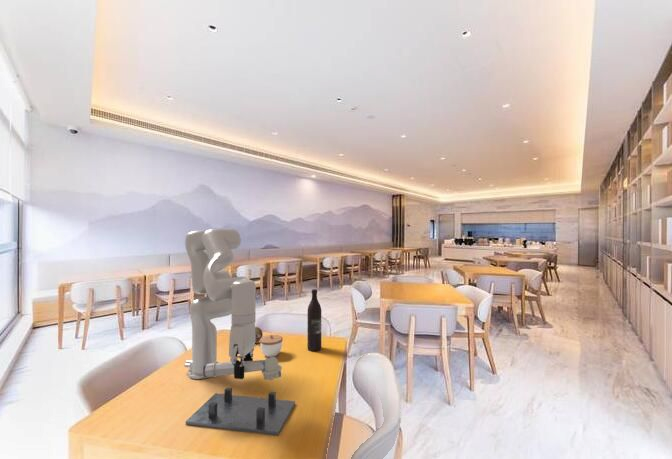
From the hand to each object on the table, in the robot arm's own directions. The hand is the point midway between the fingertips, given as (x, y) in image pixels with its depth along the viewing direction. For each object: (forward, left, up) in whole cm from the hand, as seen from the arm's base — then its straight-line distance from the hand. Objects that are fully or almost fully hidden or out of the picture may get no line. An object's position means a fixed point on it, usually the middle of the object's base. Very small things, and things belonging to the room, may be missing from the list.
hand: (243, 373), depth 96 cm
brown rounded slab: (-27, +59, -13) cm, 66 cm away
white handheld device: (0, 0, -1) cm, 1 cm away
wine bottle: (+10, +56, -13) cm, 58 cm away
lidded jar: (-9, +46, -13) cm, 49 cm away
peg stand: (0, 0, -13) cm, 13 cm away
